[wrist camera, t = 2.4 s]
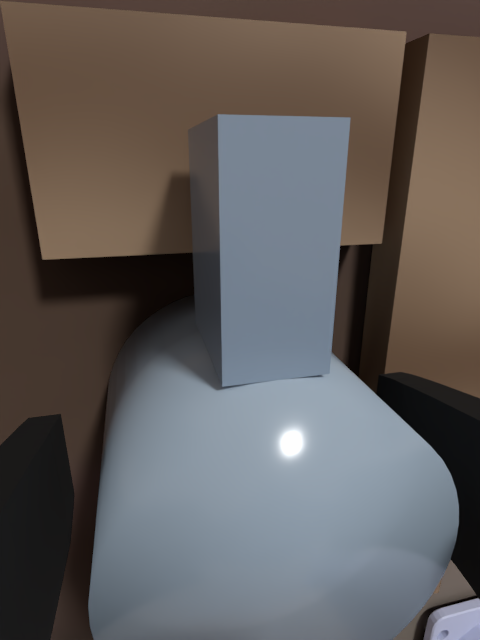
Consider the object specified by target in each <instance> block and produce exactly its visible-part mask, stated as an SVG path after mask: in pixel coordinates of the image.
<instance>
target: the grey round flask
mask: <svg viewBox="0 0 480 640" xmlns="http://www.w3.org/2000/svg"><path fill="white" fill-rule="evenodd" d="M350 119H351V118H349V117H308V116H267V115H226V114H217V115H215V116H214V117H212V118H210V119H208V120H206V121H204V122H202V123H200V124H198V125H196V126H194V127H192V128H190V129H188V144H189V169H190V195H191V220H192V246H193V271H194V295H191V296H187V297H185V298H182V299H180V300H177V301H175V302H172V303H170V304H169V305H167V306H165V307H163V308H161V309H160V310H158V311H157V312H155V313H154V314H153V315H151V316H150V317H148V318H147V319H146V320H145V321H144V322H143V323H142V324H141V325H140V326H138V327H137V328H136V329H135V330H134V332H133V333H132V334H131V335H130V337H129V338H128V339H127V340H126V342H125V343H124V345H123V347H122V348H121V350H120V352H119V353H118V355H117V358H116V360H115V362H114V365H113V367H112V371H111V375H110V378H109V385H108V394H107V405H106V416H105V427H104V438H103V449H102V460H101V471H100V482H99V493H98V504H97V515H96V526H95V537H94V548H93V559H92V570H91V581H90V592H89V603H88V609H89V622H90V628H91V632H92V635H93V639H94V640H392V639H393V638H394V637H396V636H397V635H398V634H399V633H400V632H401V631H402V630H403V629H404V628H405V627H406V626H407V625H408V624H409V623H410V622H411V620H412V619H413V618H414V617H415V616H416V615H417V613H418V612H419V611H420V610H421V609H422V608H423V606H424V605H425V603H426V602H427V601H428V599H429V598H430V596H431V595H432V594H433V592H434V591H435V589H436V587H437V585H438V584H439V582H440V580H441V578H442V577H443V575H444V573H445V570H446V568H447V566H448V563H449V561H450V559H451V556H452V553H453V549H454V546H455V543H456V538H457V532H458V526H459V504H458V497H457V491H456V488H455V485H454V482H453V479H452V476H451V474H450V472H449V470H448V468H447V467H446V465H445V463H444V461H443V460H442V458H441V457H440V456H439V455H438V454H437V453H436V452H435V450H434V449H433V448H432V447H431V446H430V445H429V444H428V443H427V442H426V441H425V440H424V439H423V438H422V437H421V436H420V435H419V434H417V433H416V432H415V431H414V430H413V429H412V428H411V427H410V426H409V425H408V424H407V423H406V422H405V421H404V420H403V419H402V418H401V417H400V416H398V415H397V414H396V413H395V412H394V411H393V410H392V409H391V408H390V407H389V406H388V405H387V404H386V403H385V402H384V401H383V400H382V399H380V398H379V397H378V396H377V395H376V394H375V393H374V392H373V391H372V390H371V389H370V388H369V387H368V386H367V385H366V384H365V383H364V382H363V381H361V380H360V379H359V378H358V377H357V376H356V375H355V374H354V373H353V372H352V371H351V370H350V369H349V368H348V367H347V366H346V365H345V364H343V363H342V362H341V361H340V360H339V359H338V358H337V357H336V356H335V355H334V354H333V353H332V352H331V350H332V338H333V326H334V314H335V301H336V289H337V277H338V265H339V253H340V241H341V229H342V216H343V204H344V192H345V180H346V168H347V156H348V143H349V131H350Z"/></svg>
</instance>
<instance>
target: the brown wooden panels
mask: <svg viewBox="0 0 480 640" xmlns="http://www.w3.org/2000/svg"><path fill="white" fill-rule="evenodd" d="M0 4H1V10H2V16H3V22H4V29H5V35H6V41H7V47H8V53H9V59H10V65H11V71H12V77H13V83H14V89H15V95H16V102H17V108H18V114H19V120H20V126H21V132H22V138H23V144H24V150H25V156H26V162H27V169H28V175H29V181H30V187H31V193H32V199H33V205H34V211H35V217H36V223H37V229H38V236H39V242H40V248H41V254H42V260H49V259H70V258H91V257H111V256H132V255H153V254H174V253H193V246H192V220H191V195H190V169H189V144H188V129H190V128H192V127H194V126H196V125H198V124H200V123H202V122H204V121H206V120H208V119H210V118H212V117H214V116H215V115H217V114H226V115H267V116H308V117H349V118H351V119H350V131H349V143H348V156H347V168H346V180H345V192H344V204H343V216H342V229H341V241H340V246H341V245H362V244H373V248H372V257H371V266H370V275H369V284H368V293H367V302H366V312H365V321H364V330H363V339H362V348H361V357H360V366H359V376H358V378H359V379H360V380H361V381H363V382H364V383H365V384H366V385H367V386H368V387H369V388H370V389H371V390H372V391H373V392H374V393H375V394H376V392H377V384H378V376H379V374H387V373H395V372H404V373H409V374H412V375H416V376H419V377H422V378H425V379H428V380H431V381H434V382H437V383H440V384H443V385H445V386H448V387H451V388H453V389H456V390H459V391H462V392H464V393H467V394H470V395H472V396H475V397H478V398H480V37H470V36H456V35H443V34H427V35H425V36H423V37H420V38H418V39H415V40H413V41H411V42H408V43H406V44H405V41H406V33H407V32H404V31H390V30H377V29H364V28H351V27H338V26H325V25H311V24H298V23H285V22H272V21H259V20H245V19H232V18H219V17H206V16H193V15H179V14H166V13H153V12H140V11H127V10H113V9H100V8H87V7H74V6H61V5H47V4H34V3H21V2H8V1H0ZM441 580H442V578H441ZM441 580H440V582H439V584H438V585H437V587H436V589H435V591H434V592H433V594H434V593H438V592H439V588H440V584H441Z"/></svg>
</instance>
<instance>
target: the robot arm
mask: <svg viewBox="0 0 480 640" xmlns="http://www.w3.org/2000/svg"><path fill="white" fill-rule="evenodd" d="M376 395H377V396H378V397H379V398H380V399H382V400H383V401H384V402H385V403H386V404H387V405H388V406H389V407H390V408H391V409H392V410H393V411H394V412H395V413H396V414H397V415H398V416H400V417H401V418H402V419H403V420H404V421H405V422H406V423H407V424H408V425H409V426H410V427H411V428H412V429H413V430H414V431H415V432H416V433H417V434H419V435H420V436H421V437H422V438H423V439H424V440H425V441H426V442H427V443H428V444H429V445H430V446H431V447H432V448H433V449H434V450H435V452H436V453H437V454H438V455H439V456H440V457H441V458H442V460H443V461H444V463H445V465H446V467H447V468H448V470H449V472H450V474H451V476H452V479H453V482H454V485H455V488H456V491H457V497H458V504H459V526H458V532H457V538H456V543H455V546H454V549H453V553H452V556H451V560H452V561H453V563H454V564H455V565H456V566H457V568H458V569H459V570H460V572H461V573H462V575H463V576H464V577H465V579H466V580H467V581H468V583H469V584H470V586H471V587H472V588H473V590H474V592H475V593H476V595H477V596H478V598H475V599H472V600H468V601H464V602H460V603H457V604H453V605H449V606H445V607H442V608H439V609H436V610H435V611H433V612H432V613H431V614H430V615H429V618H428V621H427V626H426V630H425V635H424V639H423V640H480V398H478V397H475V396H472V395H470V394H467V393H464V392H462V391H459V390H456V389H453V388H451V387H448V386H445V385H443V384H440V383H437V382H434V381H431V380H428V379H425V378H422V377H419V376H416V375H412V374H409V373H404V372H395V373H387V374H379V376H378V384H377V392H376ZM73 506H74V489H73V483H72V477H71V471H70V466H69V460H68V454H67V448H66V442H65V436H64V431H63V425H62V419H61V414H57V415H49V416H41V417H33V418H28V419H27V420H26V421H25V422H24V423H23V424H21V425H20V426H19V427H18V428H17V429H16V430H15V431H14V432H13V433H12V434H11V435H10V436H9V437H8V438H7V439H6V440H5V441H4V442H3V443H2V444H1V445H0V640H50V638H51V633H52V629H53V624H54V619H55V614H56V610H57V605H58V600H59V595H60V591H61V586H62V581H63V576H64V571H65V566H66V561H67V557H68V552H69V546H70V541H71V530H72V519H73Z"/></svg>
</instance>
